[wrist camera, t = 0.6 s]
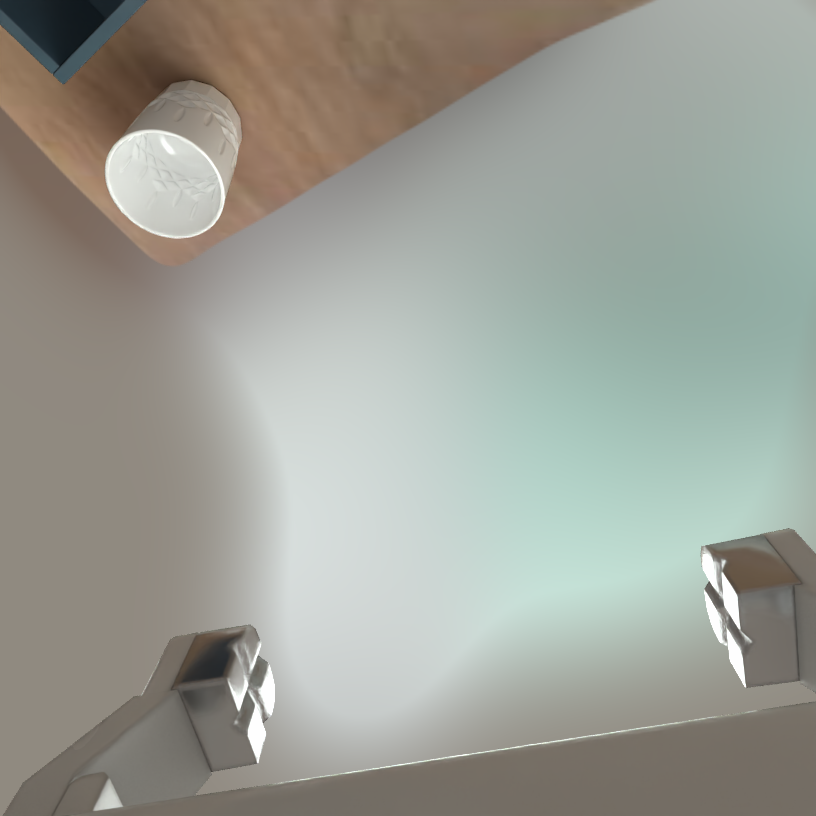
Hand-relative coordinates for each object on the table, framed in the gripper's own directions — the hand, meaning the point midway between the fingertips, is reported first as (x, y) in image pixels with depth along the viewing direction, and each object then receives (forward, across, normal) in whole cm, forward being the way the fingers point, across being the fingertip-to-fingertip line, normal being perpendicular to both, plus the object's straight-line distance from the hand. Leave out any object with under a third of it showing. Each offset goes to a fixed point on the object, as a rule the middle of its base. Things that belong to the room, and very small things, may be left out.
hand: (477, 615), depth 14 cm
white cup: (+50, +16, -12) cm, 54 cm away
